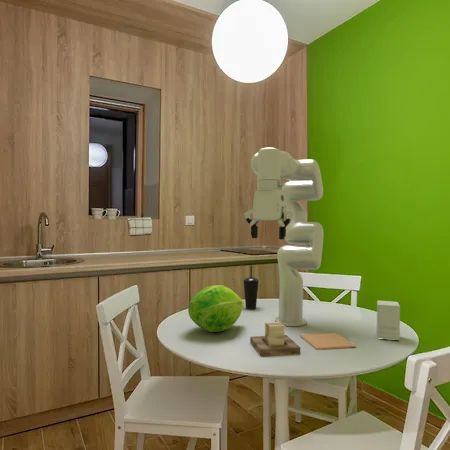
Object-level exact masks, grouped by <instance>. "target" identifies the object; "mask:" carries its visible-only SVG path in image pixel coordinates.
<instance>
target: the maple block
mask: <svg viewBox="0 0 450 450" xmlns="http://www.w3.org/2000/svg"><path fill="white" fill-rule="evenodd" d="M264 328H265V329H264V336H265V344H266V345H267V346H276V345H284V335H285V326H284V325H283V324H282V323H281V322H275V321H265V322H264Z"/></svg>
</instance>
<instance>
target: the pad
mask: <svg viewBox="0 0 450 450" xmlns="http://www.w3.org/2000/svg"><path fill="white" fill-rule="evenodd" d="M299 337H300V338H301V339H303V340H304V341H305V342H306V343H308V344H309V345H310V347H312V348H313V349H315V350H316V351H318V350H321V349H322V350H335V348H339V349H350V347H356V348H357V345H355V344H354V343H353V342H351V341H349V340H347V339H346V338H345V337H343V336H342V335H340V334H338V332H333V333H332V332H330V333H328V332H327V333H314V334H313V333H312V334H300V335H299Z"/></svg>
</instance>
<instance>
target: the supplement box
mask: <svg viewBox="0 0 450 450" xmlns="http://www.w3.org/2000/svg"><path fill="white" fill-rule="evenodd" d="M400 315H401V306H400V304H399V302H398V301H392V300H377V301H376V336H377V337H376V338H377V339H378V338H383V339H394V340H399V341H400V338H401V337H400V336H401V335H400V330H401V329H400V325H401V319H400V318H401V316H400Z"/></svg>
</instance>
